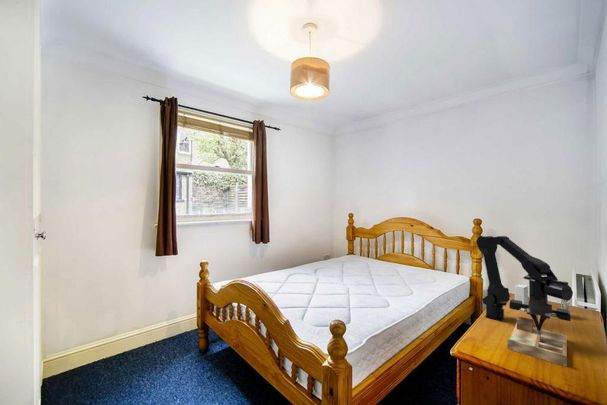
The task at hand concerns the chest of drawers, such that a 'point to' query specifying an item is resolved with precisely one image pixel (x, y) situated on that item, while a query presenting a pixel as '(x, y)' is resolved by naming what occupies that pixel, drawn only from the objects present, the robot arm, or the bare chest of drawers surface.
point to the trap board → (540, 345)
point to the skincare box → (522, 294)
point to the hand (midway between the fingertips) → (538, 330)
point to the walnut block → (525, 324)
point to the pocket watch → (563, 306)
